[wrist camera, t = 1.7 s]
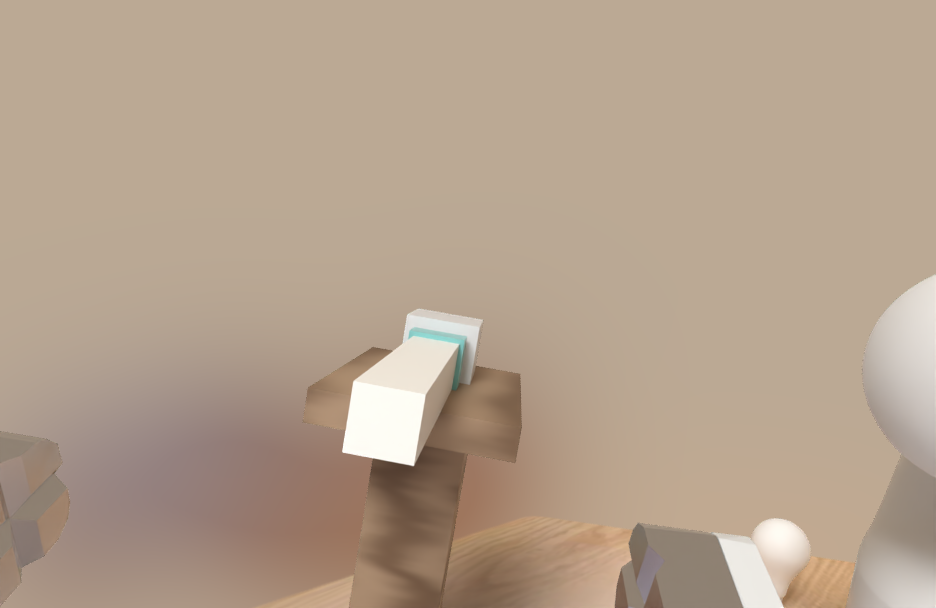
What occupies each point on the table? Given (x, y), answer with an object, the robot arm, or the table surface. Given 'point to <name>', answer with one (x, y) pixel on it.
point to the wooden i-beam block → (419, 482)
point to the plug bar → (411, 386)
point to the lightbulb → (782, 551)
